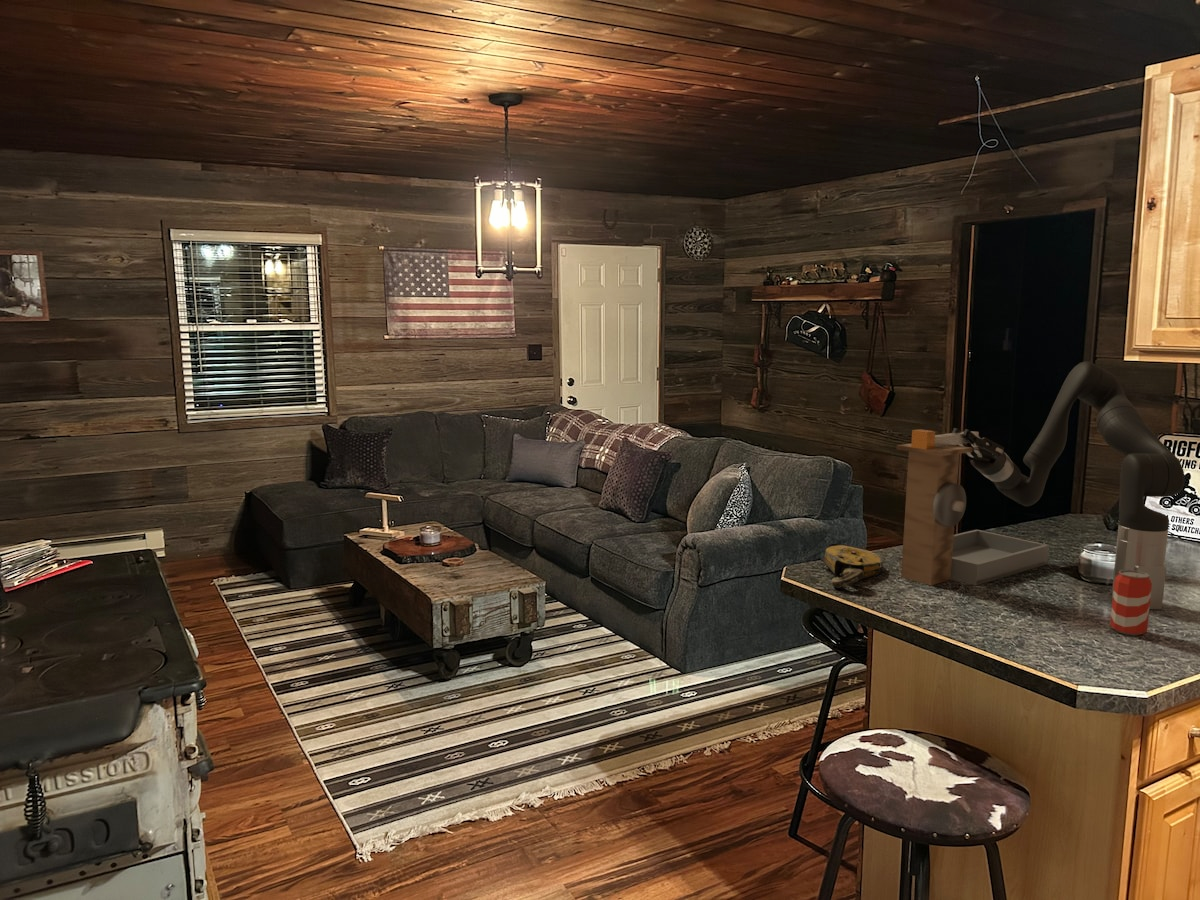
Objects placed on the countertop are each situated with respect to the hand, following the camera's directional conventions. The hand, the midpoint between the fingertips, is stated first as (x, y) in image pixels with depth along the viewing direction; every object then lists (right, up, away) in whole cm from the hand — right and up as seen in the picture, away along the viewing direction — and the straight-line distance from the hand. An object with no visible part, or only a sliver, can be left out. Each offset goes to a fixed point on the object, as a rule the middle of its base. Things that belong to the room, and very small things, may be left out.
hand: (959, 432), depth 212 cm
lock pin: (-4, -3, -2) cm, 6 cm away
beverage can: (+19, -41, -35) cm, 57 cm away
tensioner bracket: (-8, -35, -1) cm, 36 cm away
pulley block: (-26, -35, +2) cm, 44 cm away
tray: (+9, -33, +11) cm, 36 cm away
